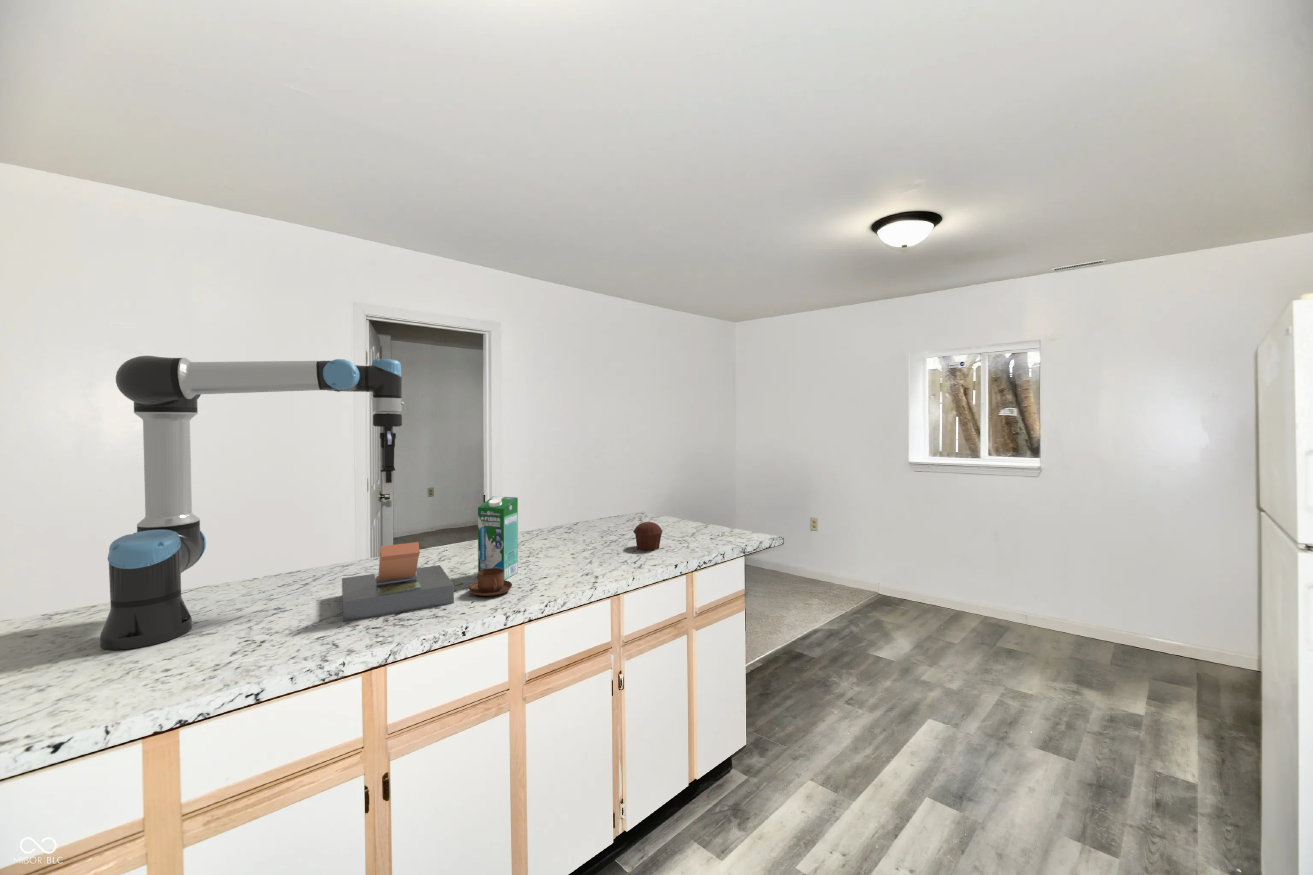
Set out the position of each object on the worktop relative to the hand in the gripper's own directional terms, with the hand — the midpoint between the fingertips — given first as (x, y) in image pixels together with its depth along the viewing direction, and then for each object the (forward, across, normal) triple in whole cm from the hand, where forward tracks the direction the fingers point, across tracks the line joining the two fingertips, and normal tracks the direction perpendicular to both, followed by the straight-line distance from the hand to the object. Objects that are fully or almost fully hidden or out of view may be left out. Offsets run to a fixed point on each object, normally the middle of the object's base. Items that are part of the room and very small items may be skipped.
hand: (388, 493), depth 152 cm
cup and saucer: (+29, -17, -25) cm, 42 cm away
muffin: (+29, +4, -91) cm, 96 cm away
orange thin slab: (+22, -10, -1) cm, 25 cm away
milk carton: (+29, -3, -31) cm, 42 cm away
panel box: (+28, -10, -1) cm, 30 cm away
